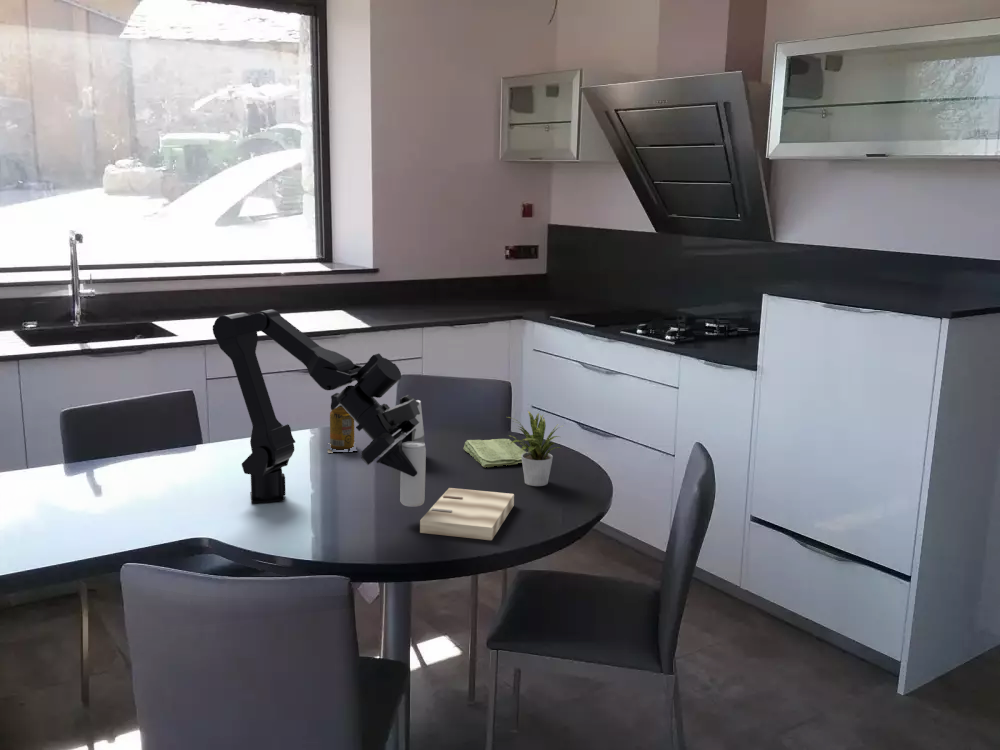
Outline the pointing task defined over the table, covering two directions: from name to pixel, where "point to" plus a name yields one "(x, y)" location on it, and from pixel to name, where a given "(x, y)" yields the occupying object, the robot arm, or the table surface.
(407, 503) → the beverage can
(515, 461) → the washcloth
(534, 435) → the house plant
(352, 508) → the table surface
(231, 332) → the robot arm
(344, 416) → the condiment
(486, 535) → the chopping board
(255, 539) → the table surface
